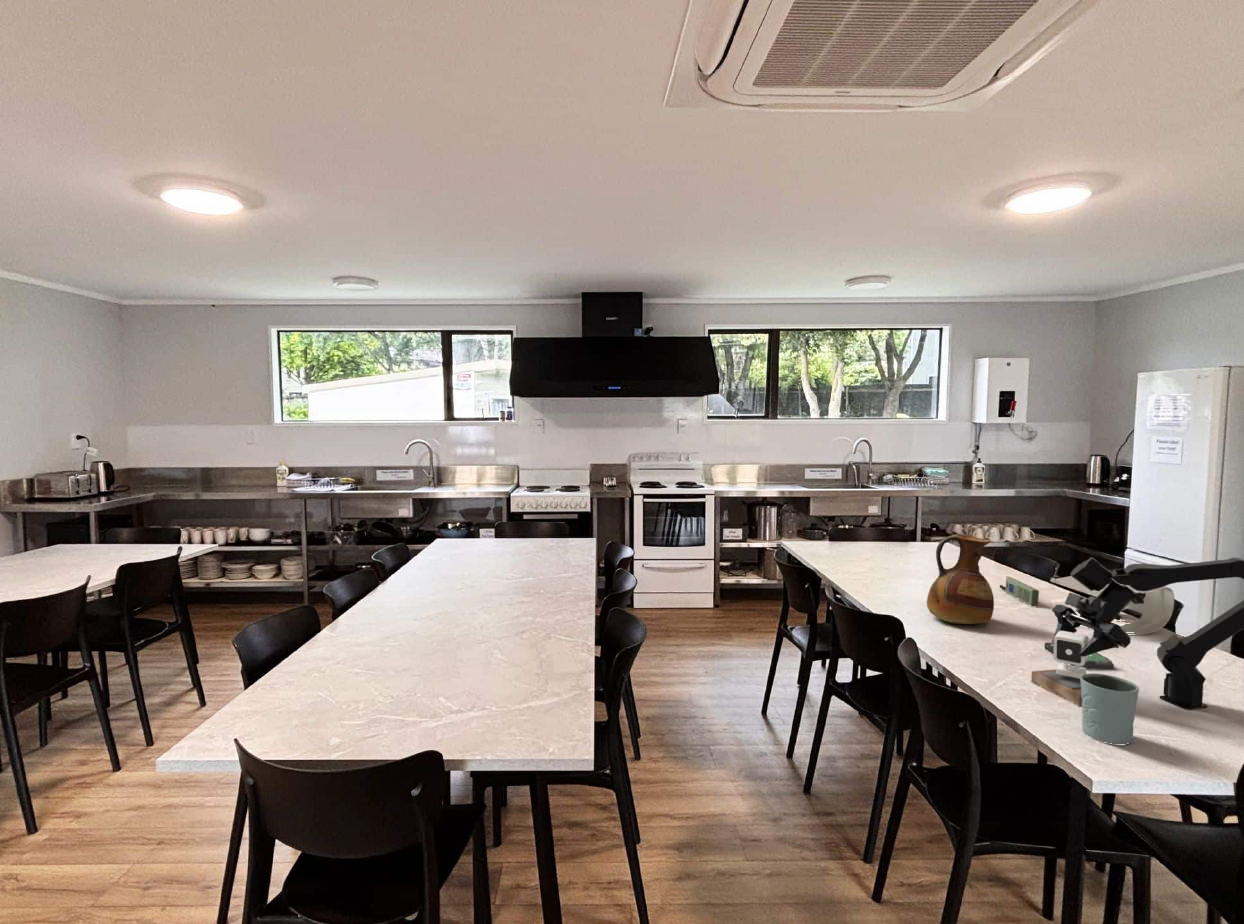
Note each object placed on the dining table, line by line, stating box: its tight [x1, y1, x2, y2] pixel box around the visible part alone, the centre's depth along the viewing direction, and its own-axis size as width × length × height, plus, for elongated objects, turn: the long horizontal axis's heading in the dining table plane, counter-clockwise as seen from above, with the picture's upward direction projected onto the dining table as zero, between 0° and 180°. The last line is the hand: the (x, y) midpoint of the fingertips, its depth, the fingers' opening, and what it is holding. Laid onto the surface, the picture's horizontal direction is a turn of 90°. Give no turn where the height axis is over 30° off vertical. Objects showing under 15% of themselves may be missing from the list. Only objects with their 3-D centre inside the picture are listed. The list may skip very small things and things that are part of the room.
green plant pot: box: [1080, 673, 1140, 744], centre depth 136 cm, size 10×10×12 cm
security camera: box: [1052, 631, 1090, 679], centre depth 158 cm, size 6×7×10 cm
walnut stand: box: [1030, 668, 1082, 707], centre depth 158 cm, size 14×9×4 cm, turn 10°
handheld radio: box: [999, 575, 1040, 607], centre depth 244 cm, size 7×3×25 cm
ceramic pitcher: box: [926, 533, 995, 625], centre depth 215 cm, size 20×20×30 cm
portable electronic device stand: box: [1049, 575, 1175, 636], centre depth 212 cm, size 26×24×16 cm
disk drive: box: [1044, 642, 1115, 670], centre depth 181 cm, size 10×3×15 cm
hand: (1066, 649), depth 157 cm, fingers closed on security camera, 8 cm apart
